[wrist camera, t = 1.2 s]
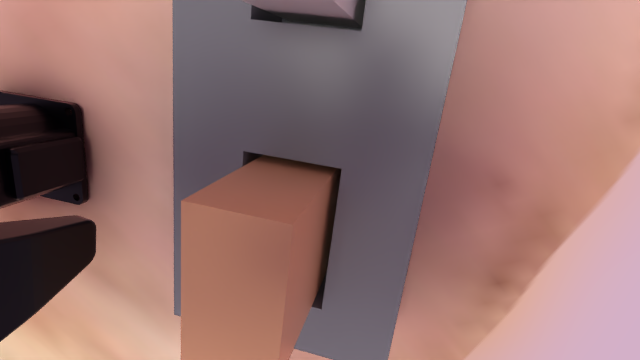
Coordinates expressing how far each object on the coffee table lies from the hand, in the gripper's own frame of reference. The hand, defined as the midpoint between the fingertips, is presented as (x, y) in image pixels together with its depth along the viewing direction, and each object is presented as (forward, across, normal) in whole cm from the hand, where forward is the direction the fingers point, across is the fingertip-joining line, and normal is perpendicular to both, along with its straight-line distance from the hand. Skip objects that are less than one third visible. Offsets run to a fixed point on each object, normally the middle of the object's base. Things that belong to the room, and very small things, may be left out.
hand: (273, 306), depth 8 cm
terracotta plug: (+11, +2, +3) cm, 12 cm away
